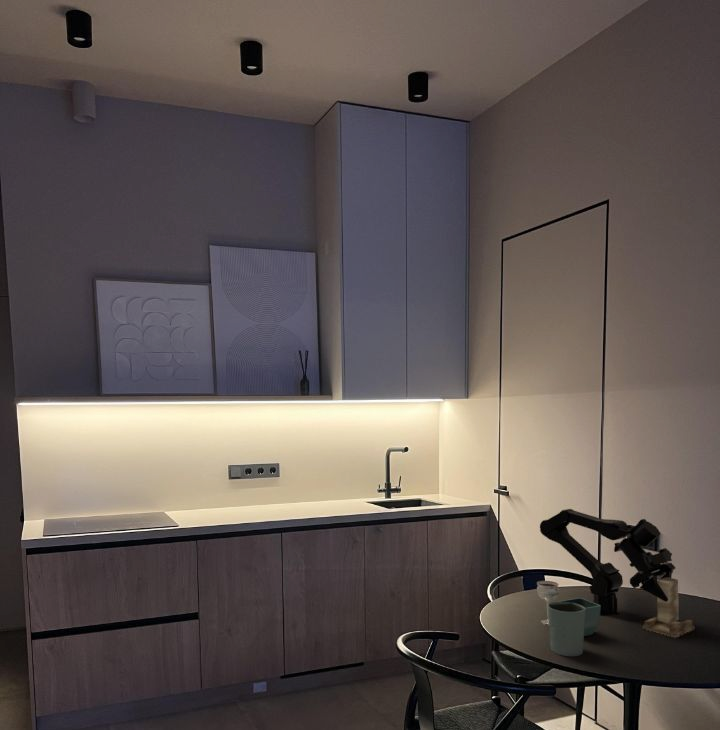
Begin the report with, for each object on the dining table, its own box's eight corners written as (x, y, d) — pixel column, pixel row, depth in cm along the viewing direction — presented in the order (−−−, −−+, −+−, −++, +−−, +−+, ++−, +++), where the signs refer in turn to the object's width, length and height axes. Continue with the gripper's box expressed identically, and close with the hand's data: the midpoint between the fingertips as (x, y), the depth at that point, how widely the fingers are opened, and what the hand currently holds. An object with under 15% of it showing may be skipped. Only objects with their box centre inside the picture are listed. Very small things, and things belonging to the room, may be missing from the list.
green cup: (546, 654, 181) (545, 609, 182) (549, 641, 191) (549, 599, 191) (585, 659, 178) (584, 613, 178) (587, 646, 187) (586, 603, 188)
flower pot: (578, 640, 192) (578, 609, 192) (558, 631, 200) (557, 600, 200) (602, 636, 195) (601, 605, 196) (581, 627, 203) (580, 597, 204)
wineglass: (535, 624, 206) (534, 584, 207) (539, 617, 212) (538, 579, 213) (557, 627, 203) (556, 587, 204) (561, 620, 209) (560, 582, 210)
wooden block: (669, 623, 198) (668, 582, 199) (657, 620, 201) (656, 580, 202) (678, 619, 202) (677, 579, 203) (667, 616, 205) (666, 577, 206)
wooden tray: (675, 638, 194) (675, 629, 194) (642, 629, 202) (642, 620, 202) (694, 629, 201) (694, 621, 201) (662, 621, 209) (662, 612, 209)
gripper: (638, 544, 200) (675, 589, 191) (668, 536, 212) (705, 578, 203) (614, 565, 206) (649, 610, 197) (645, 556, 218) (679, 598, 208)
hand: (672, 598), depth 201 cm, fingers closed on wooden block, 6 cm apart
